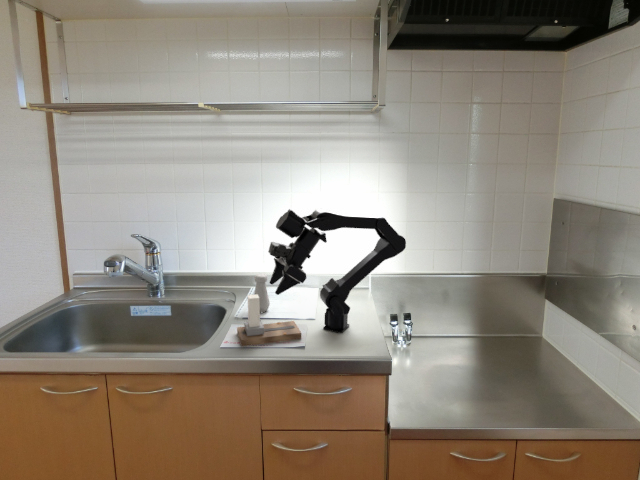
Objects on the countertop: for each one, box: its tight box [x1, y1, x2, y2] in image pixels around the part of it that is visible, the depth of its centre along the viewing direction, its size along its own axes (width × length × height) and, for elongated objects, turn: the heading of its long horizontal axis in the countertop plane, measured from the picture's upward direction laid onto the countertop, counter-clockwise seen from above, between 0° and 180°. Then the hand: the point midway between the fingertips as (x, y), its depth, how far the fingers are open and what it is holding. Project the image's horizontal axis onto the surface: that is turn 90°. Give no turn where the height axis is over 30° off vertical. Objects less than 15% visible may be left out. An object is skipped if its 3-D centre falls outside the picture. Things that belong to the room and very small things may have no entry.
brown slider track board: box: [236, 320, 302, 347], centre depth 135 cm, size 18×9×2 cm, turn 108°
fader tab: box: [243, 294, 264, 336], centre depth 132 cm, size 5×6×11 cm
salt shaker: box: [253, 273, 271, 313], centre depth 153 cm, size 6×6×13 cm
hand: (273, 288), depth 132 cm, fingers open, 9 cm apart
